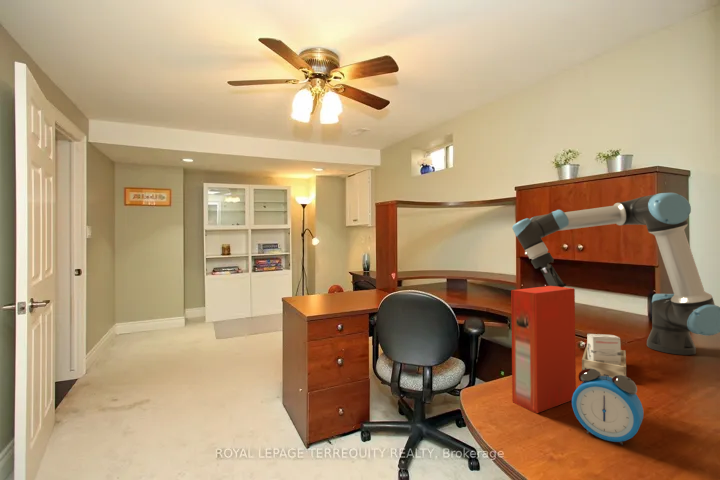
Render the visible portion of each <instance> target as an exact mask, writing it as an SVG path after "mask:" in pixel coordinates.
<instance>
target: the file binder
mask: <svg viewBox="0 0 720 480" xmlns="http://www.w3.org/2000/svg"><path fill="white" fill-rule="evenodd" d="M575 290H576V289H575V288H572V287H566V286H564V287H557V286H549V285H546V286H538V287H529V288H528V287H527V288H521V289H520V288H519V289H511V290H510V293H511V294H510V295H511V296H510V297H511V301H510V302H511V303H510V305H511V309H510V311H511V378H512V380H511V381H512V383H511V385H512V386H511V390H512V392H511V393H512V398H511V399H512V403H514V404H516V405H518V406H520V407H521V408H524V409H526V410H528V411H530V412H533V413H535V414H539V413H541V412H544V411H547V410H549V409H553V408H554V407H557V406H559V405H563V404H565V403H568V402H570V401H571V402H572V397H573V394H574V392H575V390H576V389H577V385H576V384H577V382H576V381H577V380H576V379H577V377H576V376H577V375H576V373H577V372H576V370H577V369H576V362H577V361H576V360H577V359H576V292H575Z"/></svg>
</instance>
